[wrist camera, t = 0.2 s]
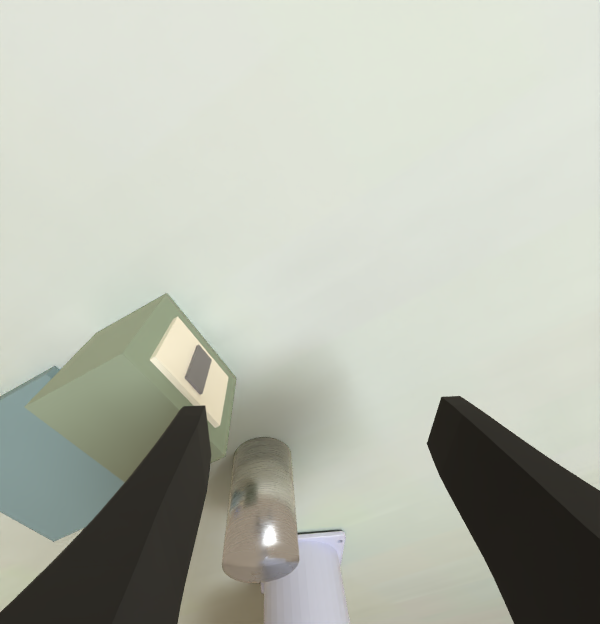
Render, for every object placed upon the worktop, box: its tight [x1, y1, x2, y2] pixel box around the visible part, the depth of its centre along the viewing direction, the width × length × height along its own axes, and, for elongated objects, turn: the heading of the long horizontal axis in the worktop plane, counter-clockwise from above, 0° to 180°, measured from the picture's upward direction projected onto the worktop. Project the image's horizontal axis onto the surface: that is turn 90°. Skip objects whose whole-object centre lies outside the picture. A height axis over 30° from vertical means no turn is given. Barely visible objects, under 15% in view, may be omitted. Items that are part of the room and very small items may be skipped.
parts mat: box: [0, 366, 125, 542], centre depth 22 cm, size 12×12×1 cm
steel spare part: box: [222, 437, 299, 583], centre depth 21 cm, size 4×4×7 cm
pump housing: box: [25, 293, 236, 482], centre depth 16 cm, size 5×7×6 cm
